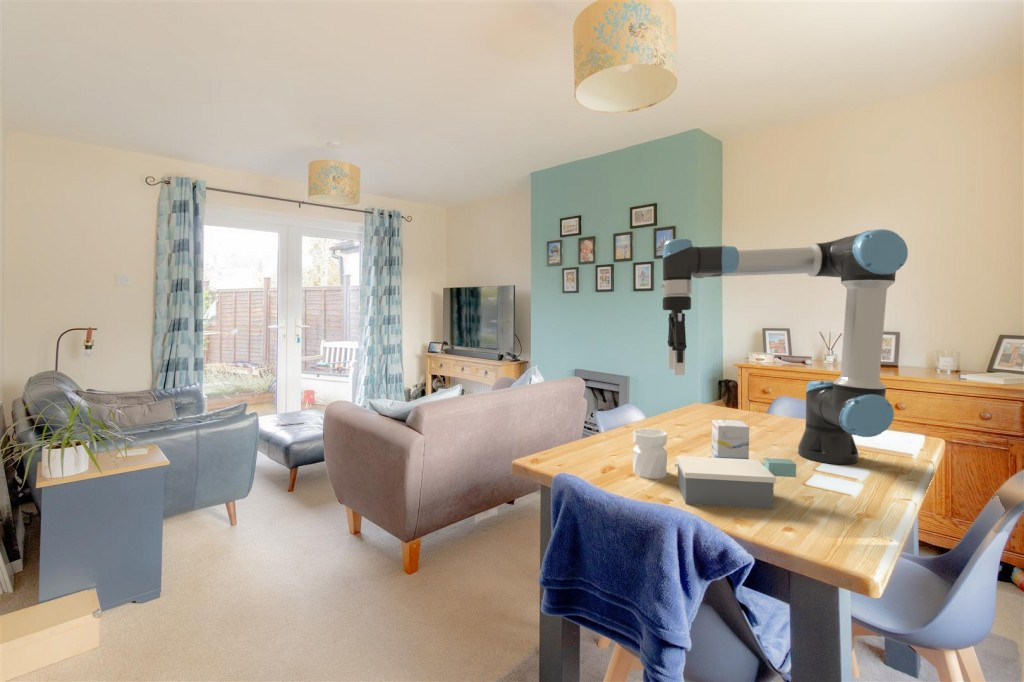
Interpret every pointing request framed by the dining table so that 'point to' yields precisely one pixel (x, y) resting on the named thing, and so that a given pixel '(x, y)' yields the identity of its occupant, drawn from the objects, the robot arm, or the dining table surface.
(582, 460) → the dining table surface
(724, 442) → the ink box
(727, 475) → the cream flat block
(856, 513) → the dining table surface
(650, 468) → the white vase
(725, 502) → the tub
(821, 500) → the dining table surface
